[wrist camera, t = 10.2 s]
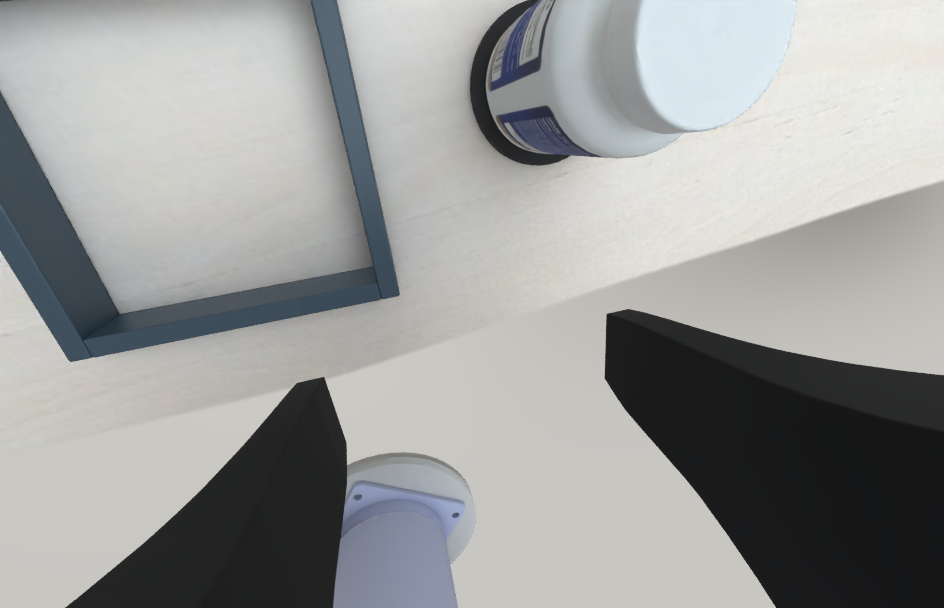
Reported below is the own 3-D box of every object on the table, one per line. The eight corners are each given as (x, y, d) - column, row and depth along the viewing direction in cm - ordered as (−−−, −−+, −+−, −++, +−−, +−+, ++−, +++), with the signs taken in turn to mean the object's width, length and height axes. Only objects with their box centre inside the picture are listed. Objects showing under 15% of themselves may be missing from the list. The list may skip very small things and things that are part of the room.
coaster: (560, 188, 20) (564, 189, 19) (444, 121, 17) (446, 120, 17) (631, 57, 18) (637, 55, 18) (515, -37, 16) (518, -41, 15)
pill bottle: (610, 128, 19) (822, 116, 10) (505, 170, 18) (628, 198, 9) (585, -8, 16) (835, -182, 8) (465, 38, 16) (580, -89, 7)
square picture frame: (396, 278, 19) (400, 296, 17) (108, 334, 17) (68, 363, 15) (326, -50, 14) (317, -86, 12) (-93, -24, 12) (-198, -62, 10)
